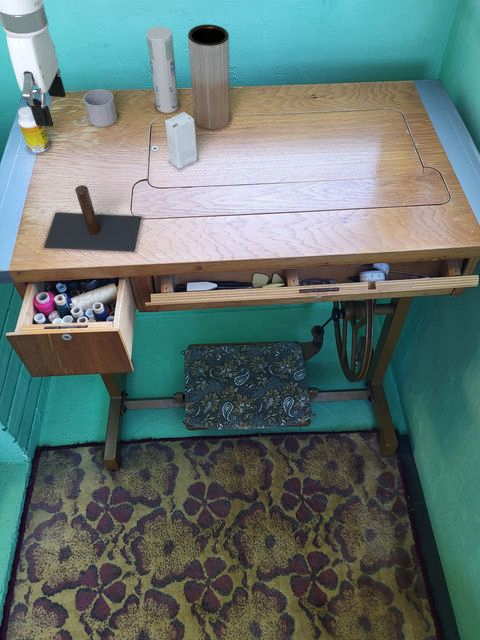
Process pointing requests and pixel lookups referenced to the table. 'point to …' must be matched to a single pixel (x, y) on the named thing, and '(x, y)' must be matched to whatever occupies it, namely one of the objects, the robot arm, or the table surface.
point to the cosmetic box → (181, 139)
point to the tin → (100, 107)
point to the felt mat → (75, 235)
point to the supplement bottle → (32, 131)
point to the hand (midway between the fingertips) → (51, 110)
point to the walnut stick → (87, 209)
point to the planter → (210, 75)
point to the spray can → (163, 68)
